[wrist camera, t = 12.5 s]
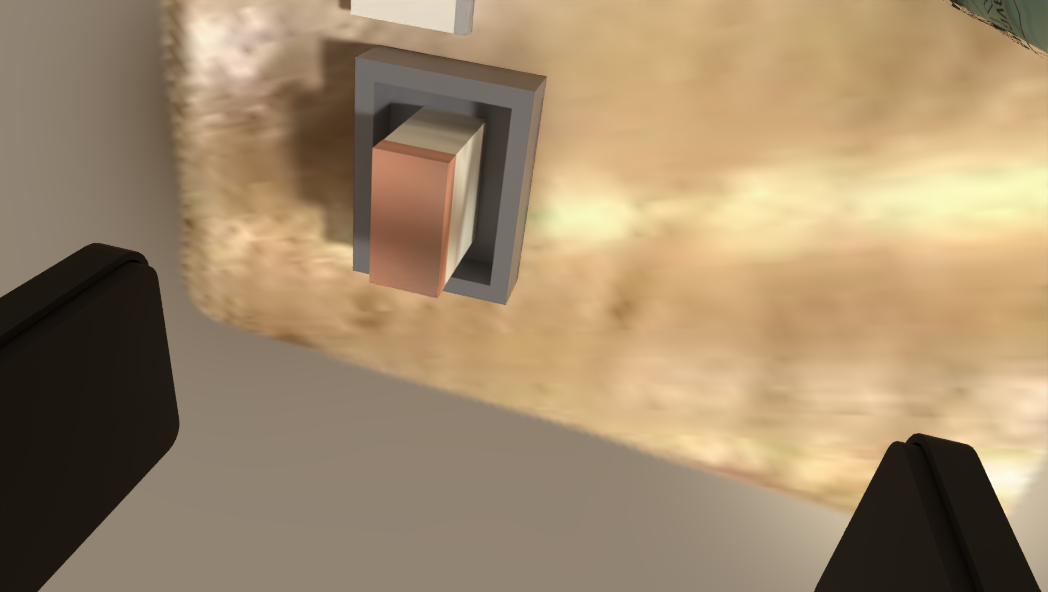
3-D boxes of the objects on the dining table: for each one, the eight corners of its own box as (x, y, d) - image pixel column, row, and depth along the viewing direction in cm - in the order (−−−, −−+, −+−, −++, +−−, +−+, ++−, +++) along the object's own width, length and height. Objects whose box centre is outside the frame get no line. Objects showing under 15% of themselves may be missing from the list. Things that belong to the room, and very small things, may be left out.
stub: (423, 105, 39) (372, 147, 33) (488, 118, 39) (448, 163, 33) (416, 225, 43) (369, 282, 37) (475, 238, 42) (437, 298, 36)
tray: (378, 44, 38) (355, 57, 36) (546, 76, 37) (535, 91, 35) (373, 247, 45) (353, 270, 42) (517, 279, 44) (505, 304, 41)
